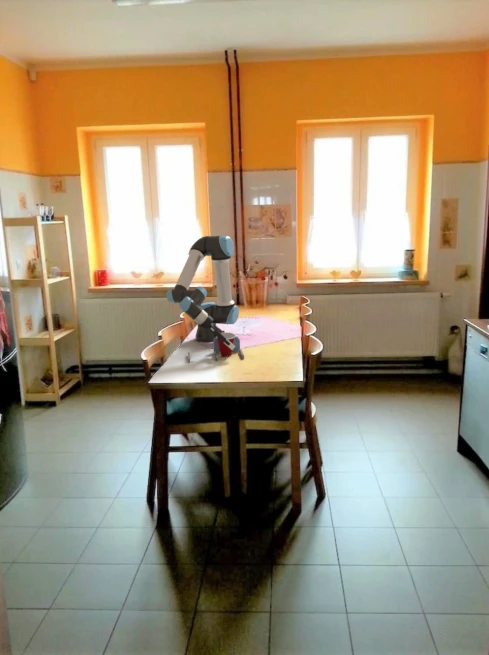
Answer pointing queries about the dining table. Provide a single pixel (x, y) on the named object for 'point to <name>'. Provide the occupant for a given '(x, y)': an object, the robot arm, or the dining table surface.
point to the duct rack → (217, 350)
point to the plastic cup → (223, 347)
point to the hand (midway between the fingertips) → (232, 345)
